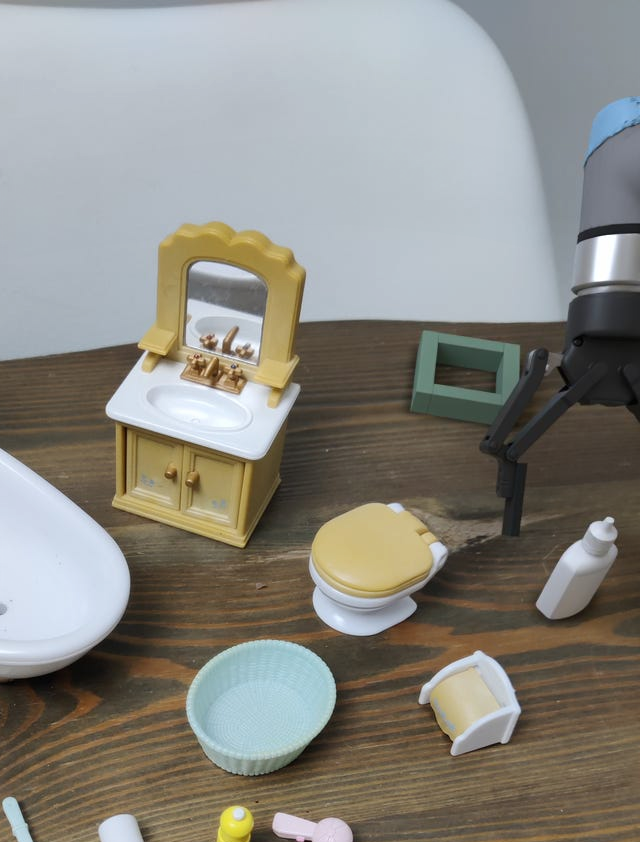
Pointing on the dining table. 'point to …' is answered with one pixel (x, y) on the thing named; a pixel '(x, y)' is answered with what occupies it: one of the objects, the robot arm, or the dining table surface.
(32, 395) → the dining table surface
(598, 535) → the eye dropper bottle
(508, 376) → the socket pad
